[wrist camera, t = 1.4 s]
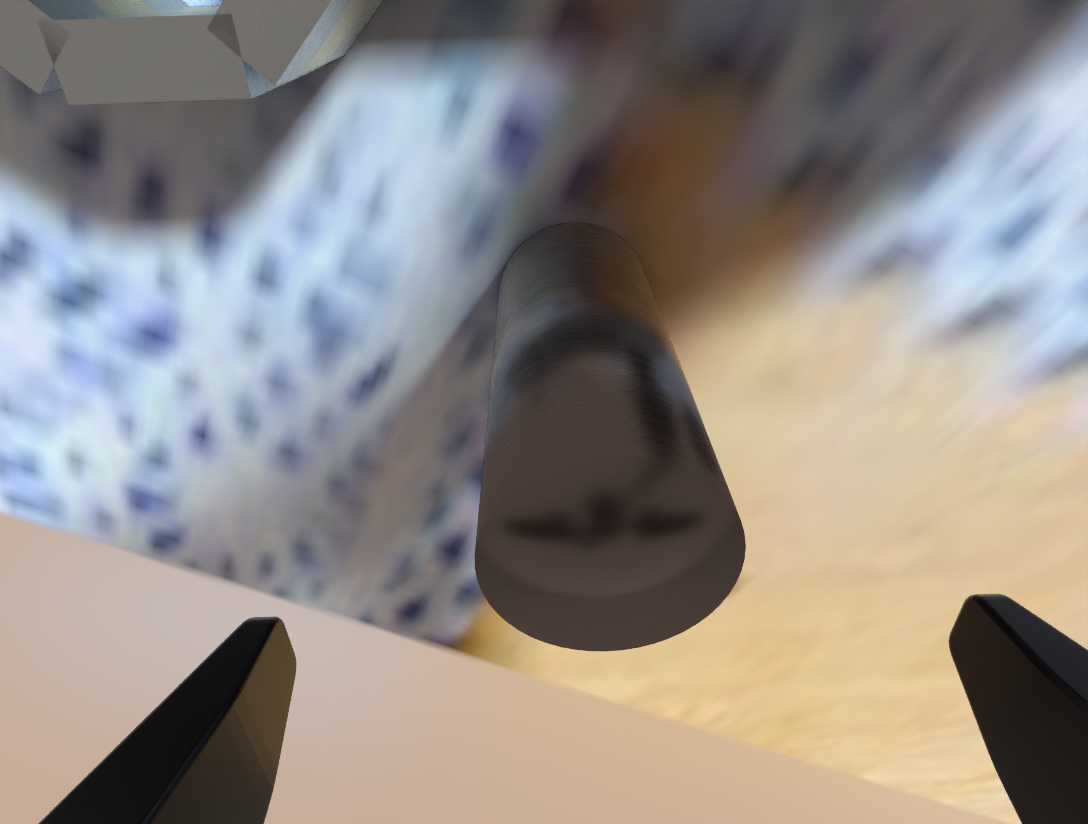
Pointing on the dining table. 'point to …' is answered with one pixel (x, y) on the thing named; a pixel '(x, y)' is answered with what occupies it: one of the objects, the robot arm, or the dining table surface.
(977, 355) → the dining table surface
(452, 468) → the dining table surface
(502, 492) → the hinge pin
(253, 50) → the hinge
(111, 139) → the dining table surface
